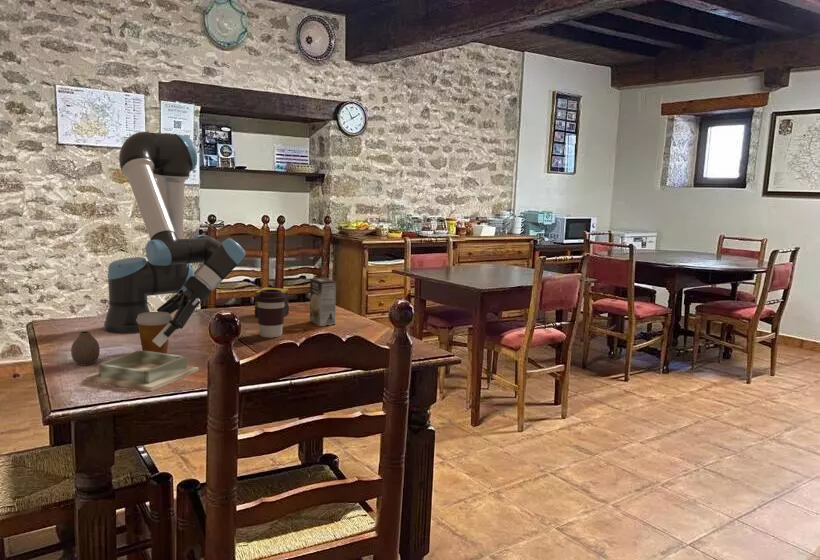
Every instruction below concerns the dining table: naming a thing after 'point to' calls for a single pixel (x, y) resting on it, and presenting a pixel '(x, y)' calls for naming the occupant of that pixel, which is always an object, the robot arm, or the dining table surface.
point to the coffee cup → (270, 312)
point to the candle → (285, 292)
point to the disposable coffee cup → (152, 329)
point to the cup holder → (143, 370)
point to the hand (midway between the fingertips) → (150, 338)
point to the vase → (85, 349)
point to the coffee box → (322, 301)
